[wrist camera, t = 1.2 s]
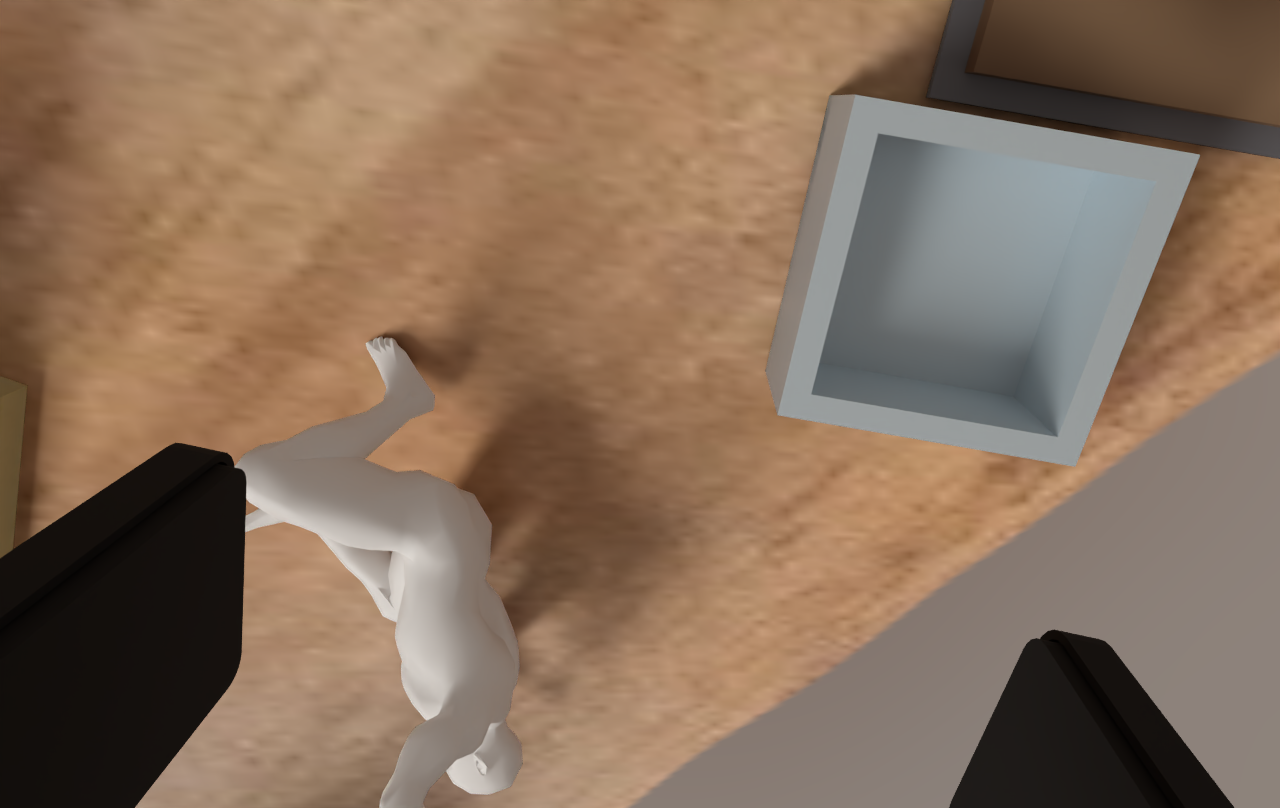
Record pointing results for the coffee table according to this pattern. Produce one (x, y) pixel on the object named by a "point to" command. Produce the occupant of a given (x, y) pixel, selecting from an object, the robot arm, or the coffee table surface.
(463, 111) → the coffee table surface
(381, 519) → the person figurine
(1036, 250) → the grey square box
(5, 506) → the decorative clock
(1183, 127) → the mat
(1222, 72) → the lid
